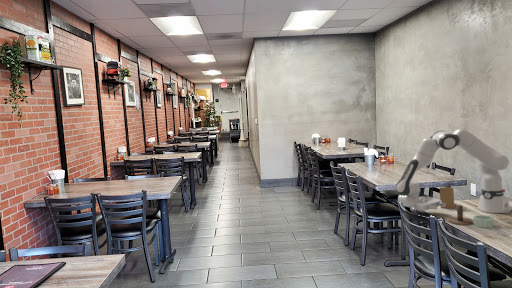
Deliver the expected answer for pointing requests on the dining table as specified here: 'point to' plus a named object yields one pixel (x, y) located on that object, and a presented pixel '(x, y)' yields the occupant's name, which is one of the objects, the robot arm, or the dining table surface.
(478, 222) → the celadon bowl
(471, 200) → the dining table surface
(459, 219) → the walnut lid
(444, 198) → the sandwich container
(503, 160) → the robot arm
